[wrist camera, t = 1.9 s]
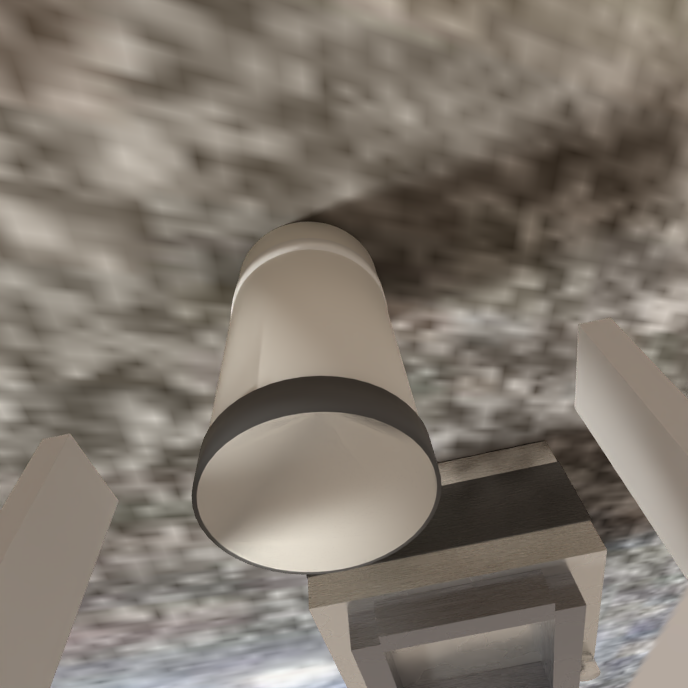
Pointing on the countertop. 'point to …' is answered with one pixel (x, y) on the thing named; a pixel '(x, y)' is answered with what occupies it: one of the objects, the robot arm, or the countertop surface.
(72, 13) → the countertop surface
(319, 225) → the beige and black cylinder
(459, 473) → the grey square holder base
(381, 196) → the countertop surface
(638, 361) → the robot arm
